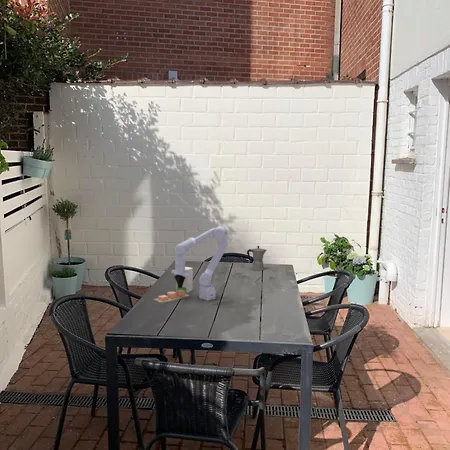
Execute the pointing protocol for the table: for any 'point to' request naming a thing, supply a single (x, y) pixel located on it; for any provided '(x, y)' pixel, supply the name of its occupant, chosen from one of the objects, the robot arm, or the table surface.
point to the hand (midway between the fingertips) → (180, 287)
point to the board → (171, 299)
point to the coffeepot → (257, 258)
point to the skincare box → (187, 281)
